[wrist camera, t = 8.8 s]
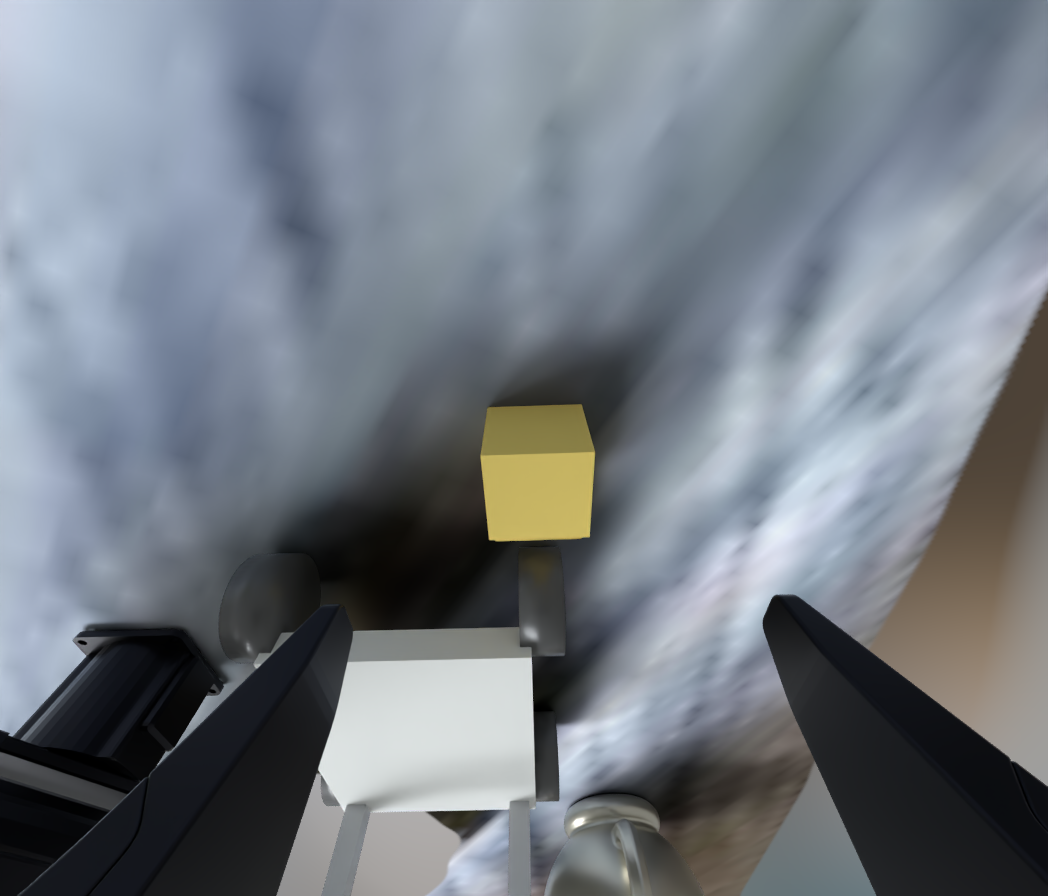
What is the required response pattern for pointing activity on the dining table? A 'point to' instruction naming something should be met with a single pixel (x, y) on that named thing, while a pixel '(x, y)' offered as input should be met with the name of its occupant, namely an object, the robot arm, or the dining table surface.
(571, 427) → the yellow step block
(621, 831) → the teapot
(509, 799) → the trolley
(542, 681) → the dining table surface
